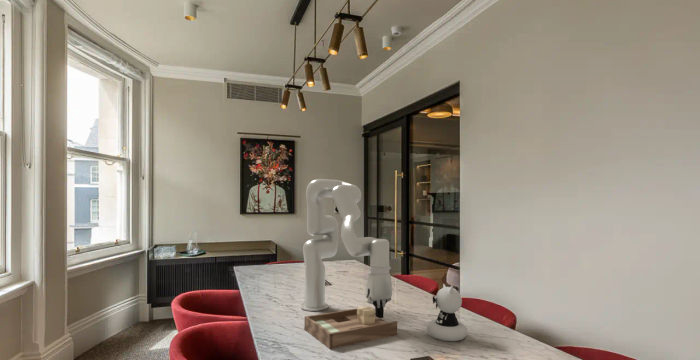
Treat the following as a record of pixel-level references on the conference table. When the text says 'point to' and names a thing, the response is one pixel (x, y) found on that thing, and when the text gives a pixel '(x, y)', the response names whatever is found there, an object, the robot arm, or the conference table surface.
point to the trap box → (346, 328)
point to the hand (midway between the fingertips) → (379, 317)
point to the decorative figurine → (447, 316)
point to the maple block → (366, 315)
